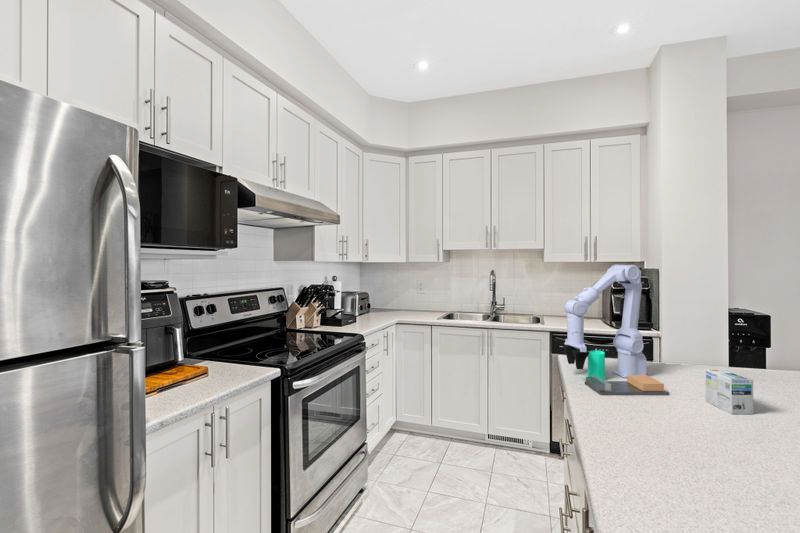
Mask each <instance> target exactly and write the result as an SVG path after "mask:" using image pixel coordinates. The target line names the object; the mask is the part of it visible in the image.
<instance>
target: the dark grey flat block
mask: <svg viewBox="0 0 800 533" xmlns="http://www.w3.org/2000/svg"><path fill="white" fill-rule="evenodd" d="M584 385H585V386H587V387H588V388H590V389H591V390H592V391H594V392H596V393H597V394H598V395H599V396H670V392H669V391H667V390H666V389H664V391H642V390H641V389H639V388H637V387H635V386H634V385H632V384H630V383H628V382H627V380H626V381H625V380H624V381H623V380H622V381H621V380H617V381H616V380H612V381H611V380H606V379H605V380H604V379H602V378H600V377H599V376H597V375H591V377H588V376H585V381H584Z"/></svg>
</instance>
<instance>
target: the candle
mask: <svg viewBox="0 0 800 533" xmlns="http://www.w3.org/2000/svg"><path fill="white" fill-rule="evenodd" d="M587 351H588V352H589V355H588V356H587V377H591V375H597V376H599V377H600V378H602V379H604V380H605V381H606V377H605V375H606V374H605V373H606V367H605V366H606V353H605V351H602V350H597V349H594V350H587Z"/></svg>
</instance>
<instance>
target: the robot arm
mask: <svg viewBox="0 0 800 533" xmlns="http://www.w3.org/2000/svg"><path fill="white" fill-rule="evenodd" d="M606 270H607V271H606V273H604V274H603V276H601V277H600V278H599V280H597V281H596V283H595V284H594V285H593V286H590V287H589V286H588V287H584V288H583V289H582V292H580V293H579V294H578V295H576V296H574V297H573V299H569V300H568V301H567V302H566V303H565V305H564V306H563V309H564V311H565V313H566V318H567V321H566V322H567V325H566V326H567V329H566V330H567V331H566V332H567V335H566V336H567V338H565V342H564V343H563V344H564V345H562V347H563V348H562V349H563V350H564V352H565V355H566V360H567V363H568V364H569V365H574V364H575V368H576V370H584V367H585V366H584V365H585V362H586V359H588V355H589V352H588V351H589V350H587V346H586V344H585V342H584V340H585V338H584V337H585V336H584V335H585V334H584V332H585V331H584V328H585V327H584V326H585V325H584V320H585V318H584V316H585V315H586V314H587V313H588V310H589V307H591V305H593V303H595V302H596V301H597V300H598V299H599V298H600V294H601V293H602V292H603V291H604V290H606V289H607V288H608V287H610V286H611V285H613V284H614V283H619V284H621V286H623V288H625V290H624V300H623V308H622V310H623V311H622V317H621V318H622V319H621V327H620V328H618V329H617V330H616V333H615V337H614V338H613V346H614V347H615V348H616V351H617V370H612V373H615V374H616V375H618V376H620V377H622V378H626V379H627V375H647V365H648V364H647V358H646V356H645V354H644V353H642V352H643V350H644V341H643V339H644V338H643V334H642V333H641V332H640V331H639V330H638V329H639V328H638V327H639V316H640V310H641V299H642V289H643V284H642V280H641V277H642V270H641V269H640V268H639V267H638V266H637V264H636V265H635V264H612V265H611V267H610V268H609V267H608V268H607V269H606Z"/></svg>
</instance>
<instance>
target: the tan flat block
mask: <svg viewBox="0 0 800 533" xmlns="http://www.w3.org/2000/svg"><path fill="white" fill-rule="evenodd" d="M626 381H627V382H628V383H630V384H632V385H634V386H635V387H637V388H639V389H641V390H642V391H664V390H665V383H663V382H661V381H659V380H658V379H656V378H653V377H652V376H649V375H647V374H646V375H627V378H626Z"/></svg>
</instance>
